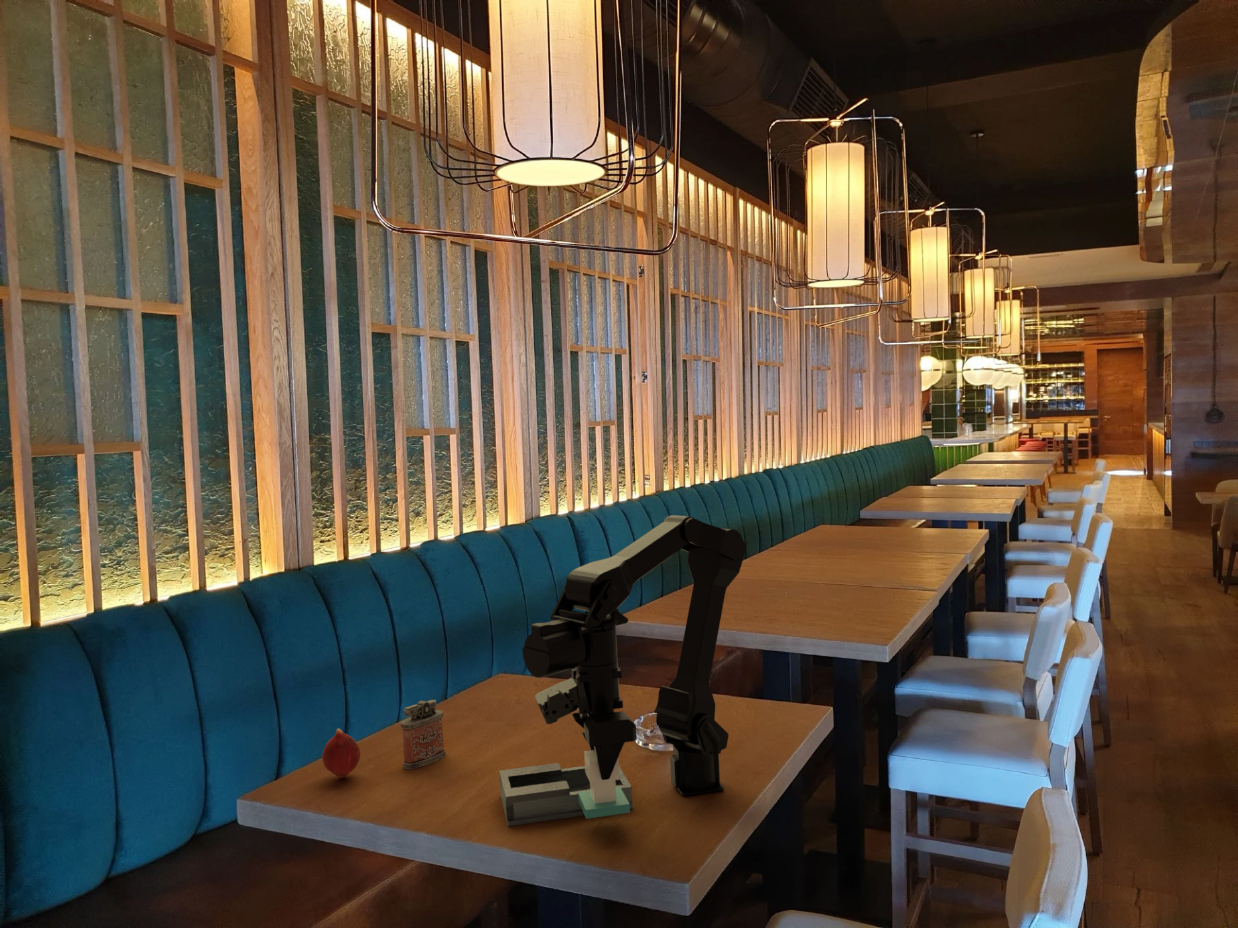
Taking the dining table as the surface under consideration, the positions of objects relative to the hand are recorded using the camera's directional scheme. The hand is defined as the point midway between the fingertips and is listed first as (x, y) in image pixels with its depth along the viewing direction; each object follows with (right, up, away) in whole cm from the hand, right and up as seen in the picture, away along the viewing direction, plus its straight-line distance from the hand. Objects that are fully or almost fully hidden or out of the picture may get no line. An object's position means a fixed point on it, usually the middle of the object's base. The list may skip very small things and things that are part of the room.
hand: (602, 773), depth 127 cm
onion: (-42, -9, +23) cm, 49 cm away
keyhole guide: (-6, -7, +9) cm, 13 cm away
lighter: (-30, -8, +29) cm, 42 cm away
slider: (0, -5, 0) cm, 5 cm away
